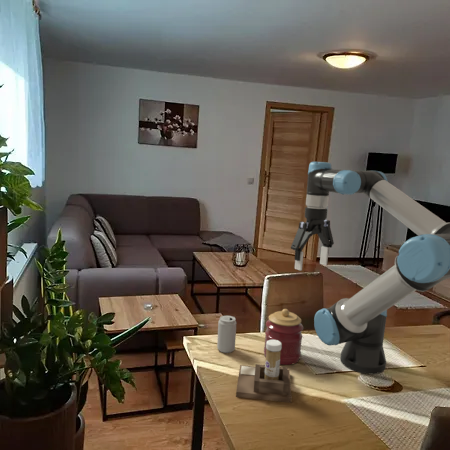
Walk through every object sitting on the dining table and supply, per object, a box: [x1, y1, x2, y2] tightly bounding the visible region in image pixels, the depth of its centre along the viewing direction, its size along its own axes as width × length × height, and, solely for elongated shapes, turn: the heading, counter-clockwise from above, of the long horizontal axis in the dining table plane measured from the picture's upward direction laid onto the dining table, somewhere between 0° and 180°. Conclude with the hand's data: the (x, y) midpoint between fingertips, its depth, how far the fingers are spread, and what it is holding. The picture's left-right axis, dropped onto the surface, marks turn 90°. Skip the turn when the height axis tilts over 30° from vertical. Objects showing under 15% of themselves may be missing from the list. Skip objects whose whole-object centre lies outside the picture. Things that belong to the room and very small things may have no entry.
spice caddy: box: [235, 363, 293, 403], centre depth 131 cm, size 16×16×5 cm
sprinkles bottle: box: [264, 340, 282, 381], centre depth 129 cm, size 5×5×13 cm
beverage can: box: [216, 315, 237, 354], centre depth 153 cm, size 6×6×12 cm
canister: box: [263, 308, 304, 366], centre depth 149 cm, size 13×13×18 cm
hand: (311, 267), depth 151 cm, fingers open, 13 cm apart
